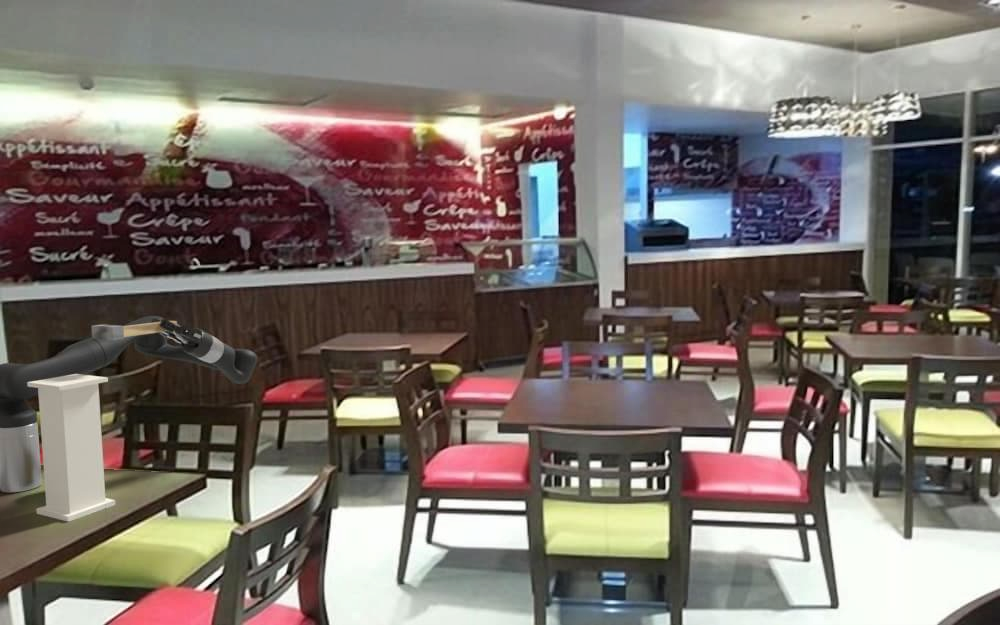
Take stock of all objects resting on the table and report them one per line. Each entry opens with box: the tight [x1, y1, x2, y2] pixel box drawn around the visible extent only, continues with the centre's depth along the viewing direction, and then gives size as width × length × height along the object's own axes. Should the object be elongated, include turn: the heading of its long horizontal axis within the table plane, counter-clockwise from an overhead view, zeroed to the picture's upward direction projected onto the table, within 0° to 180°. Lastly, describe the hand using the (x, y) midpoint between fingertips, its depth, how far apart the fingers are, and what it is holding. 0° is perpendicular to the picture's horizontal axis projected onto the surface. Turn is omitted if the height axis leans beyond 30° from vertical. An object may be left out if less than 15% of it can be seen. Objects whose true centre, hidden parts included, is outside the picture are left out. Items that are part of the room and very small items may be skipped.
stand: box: [27, 374, 116, 522], centre depth 175 cm, size 12×12×32 cm
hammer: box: [90, 320, 178, 340], centre depth 191 cm, size 8×21×3 cm, turn 154°
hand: (157, 322), depth 196 cm, fingers closed on hammer, 3 cm apart
